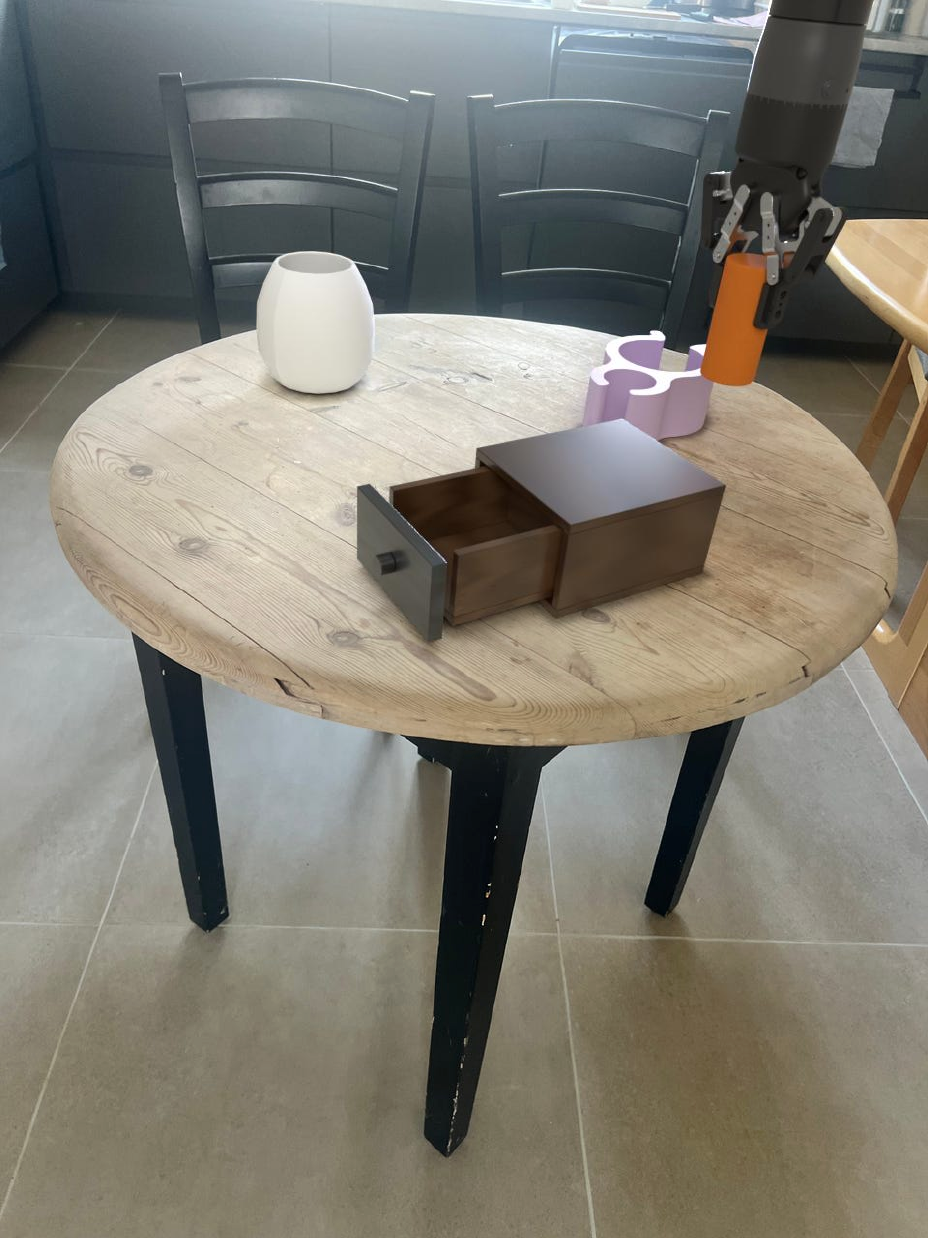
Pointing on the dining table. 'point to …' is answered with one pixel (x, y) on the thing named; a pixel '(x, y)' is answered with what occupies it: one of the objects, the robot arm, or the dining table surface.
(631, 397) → the clip
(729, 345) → the roller
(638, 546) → the cabinet
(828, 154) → the robot arm
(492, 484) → the drawer
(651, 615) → the dining table surface
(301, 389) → the white vase
